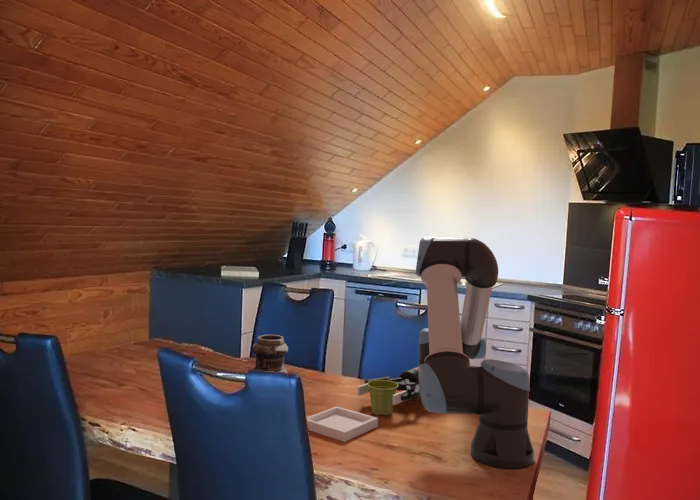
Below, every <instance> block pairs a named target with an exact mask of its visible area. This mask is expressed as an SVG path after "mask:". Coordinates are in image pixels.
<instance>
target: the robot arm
mask: <svg viewBox="0 0 700 500" xmlns="http://www.w3.org/2000/svg"><path fill="white" fill-rule="evenodd" d="M418 243H419V245H418V250H417V251H418V252H417V258H416V259H417V260H416V264H415V275H416V276H417V277H420V280H421V282H422V284H423V285H425V286H426V303H427V304H426V306H427V325H428V327H425V328H422V329H421V330H420V331H419V338H418V361H417V362H418V365H417V366H416V367H414V368H409V369H408V370H406V371H405V370H404V371H402V373H400V375H399V376H398V377H396V378H391V376H384V377H379V378H370V379H364V384H360V385H358V386H357V396H358V397H359V396H362V395H365V394H368V393H370V391H369V387H368V385H367V383H368V382H370V381H373V380H388V381H393V382H396V383H397V384H398V388H397V390H396V393H395V394H394V395H393V402H392V404H393V406H394V405H395V406H396V405H398V404H400V403H402V402H404V401H407V400H408V401H411V400H412V399H413V401H415V402H416V401H418V400H419V399H421V402H422V403H421V404H422V406H423V408H424V409H425V410H426V411H427V412H429V413H437V414H441V415H444V414H451V415H452V414H454V415H456V414H457V415H479V416H478V419H479V420H478V425H477V427H476V430H475V432H474V434H473V437H472V440H471V443H470V455H471V456H472V458H473V459H474V460H476V461H477V462H480V463H482V464H485V465H487V466H492V467H495V468H499V469H523V468H526V467H530V466H531V465H532V464H533V462H534V456H535V455H534V454H535V453H534V452H535V451H534V448H533V445H532V444H533V443H532V440H531V437H530V433H529V429H528V423H529V422H528V421H529V402H530V401H529V400H530V398H529V397H530V390H531V387H530V375H529V373H528V371H527V370H526V369H525V368H523V367H522V366H520V365H517V364H514V363H511V362H508V361H504V360H498V359H484V358H485V357H486V353H487V341H486V339H485V337H484V336H482V335H483V331H484V327H485V322H486V317H487V313H488V308H489V305H490V304H489V303H490V299H491V294H492V290H493V287H495V285H497V283H498V278H499V264H498V262H497V258H496V256H495V255H494V253H493V251H492V250H491V248H490V247H489V246H487V244H485V243H484V242H483V241H481V240H479V239H477V238H474V237H448V236H447V237H444V236H443V237H442V236H435V235H434V236H424V237H422V238H420V241H419V242H418ZM462 278H464V279H465V281H466V289H465V292H464V293H465V294H464V299H463V306H462V310H461V315H460V305H459V292H458V284H459V283H461V280H462ZM477 359H478V360H480V359H481V363H480V365H479V366H477V365H476V366H474V365H472V366H471V362H470V360H477ZM482 359H483V360H482ZM397 391H398V393H397Z"/></svg>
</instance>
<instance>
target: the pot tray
mask: <svg viewBox="0 0 700 500" xmlns="http://www.w3.org/2000/svg"><path fill="white" fill-rule="evenodd" d="M306 417H307V422H308V428H309V430H308V431H311V432H313V433H316V434H319V435H322V436H325V437H329V438H332V439H335V440H337V441H341V442H344V443H345V442H347V441H350V440H351V439H354V438H357V437H359V436H361V435H363V434H365V433H368V432H369V431H371V430H373V429H374V430H375V429H376V428H378V427H379V417H375V416H372V415H368V414H365V413H362V412H358V411H355V410H351V409H347V408H345V407H344V408H343V407H341V406H337V405H335V406H334V407H330V408H328V409H325V410H322V411H320V412H318V413H315V414H312V415H309V416H306Z"/></svg>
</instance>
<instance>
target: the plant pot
mask: <svg viewBox="0 0 700 500" xmlns="http://www.w3.org/2000/svg"><path fill="white" fill-rule="evenodd" d="M367 385H368V387H369V391H370V392H369V397H370V408H371V409H370V410H371V412H372V413H373V414H374V415H377V416H381V415H382V416H388V415H389V416H390V415H391V414H393V413H392V412H393V409H394V405H393V404H392V402H393V395H394V394H396V393H397V388H398V384H397V383H396V382H393V381H388V380H373V381H370V382H368V383H367Z"/></svg>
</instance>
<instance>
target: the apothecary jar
mask: <svg viewBox="0 0 700 500" xmlns="http://www.w3.org/2000/svg"><path fill="white" fill-rule="evenodd" d="M288 351H289V346H288V345H287V344H286V343H285V339H284V336H281V335H280V334H279V335H278V334H263V335H259V336H258V337H257V341H256V343H254V344H253V346H252V352H253V353H254V354H255V366H254V367H253V369H252V370H261V371H274V372H285V373H288V370H287V368H286V367H285V355H286V354H287V353H288Z"/></svg>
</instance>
